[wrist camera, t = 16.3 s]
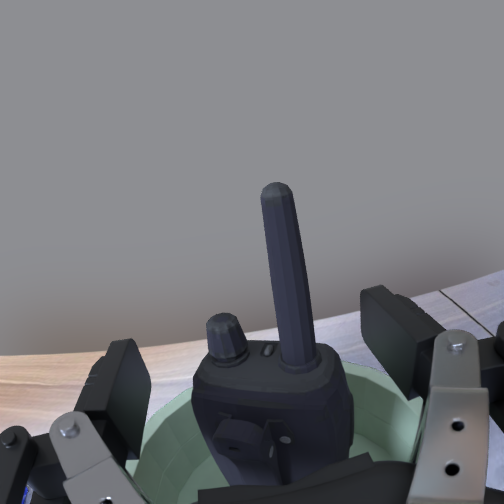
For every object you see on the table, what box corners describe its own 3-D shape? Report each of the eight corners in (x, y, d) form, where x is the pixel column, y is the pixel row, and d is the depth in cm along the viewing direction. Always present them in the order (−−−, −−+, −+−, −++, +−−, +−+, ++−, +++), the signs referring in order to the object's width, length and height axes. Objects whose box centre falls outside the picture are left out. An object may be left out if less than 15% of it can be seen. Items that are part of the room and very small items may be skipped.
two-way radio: (351, 480, 13) (348, 167, 8) (335, 552, 9) (340, 206, 4) (250, 470, 15) (168, 192, 10) (222, 533, 11) (62, 237, 6)
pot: (425, 423, 15) (442, 357, 14) (396, 632, 4) (432, 631, 2) (225, 408, 21) (205, 348, 19) (122, 563, 9) (60, 523, 7)
